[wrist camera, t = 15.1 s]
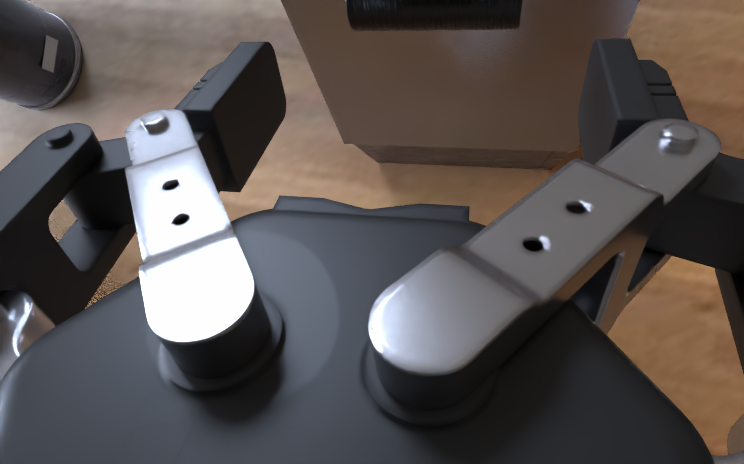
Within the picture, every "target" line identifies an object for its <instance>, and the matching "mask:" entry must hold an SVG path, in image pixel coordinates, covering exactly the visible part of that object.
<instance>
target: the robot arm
mask: <svg viewBox="0 0 744 464" xmlns="http://www.w3.org/2000/svg"><path fill="white" fill-rule="evenodd" d="M81 65H82V51H81V45H80V42H79V39H78V37H77V35H76V33H75V31H74V30H73V28H72V27H71V26H70V25H69V24H68V23H67V22H66V21H65V20H63V19H62V18H60V17H58V16H56V15H54V14H52V13H49V12H46V11H44V10H42V9H40V8H39V7H37V6H35V5H33V4H31V3H29V2H27V1H26V0H0V99H2V100H6V101H9V102H13V103H16V104H18V105H20V106H23V107H26V108H30V109H35V110H41V109H47V108H50V107H53V106H55V105H57V104H58V103H60V102H61V101H63V100H64V99H65V98H66V97H67V96H68V95H69V93H70V92H71V91H72V89H73V88H74V86H75V84H76V82H77V80H78V77H79V74H80V71H81ZM285 113H286V98H285V93H284V89H283V85H282V80H281V76H280V72H279V68H278V64H277V60H276V56H275V52H274V49H273V47H272V45H271V44H270V43H269V42H241V43H240V44H239V45H238V46H237V47H236V48H235V49H234V50H233V51H232V53H231V54H230V55H229V56H228V57H227V58H226V59H225V61H223V62H221V63H220V64H218V65H216V66H215V67H213V68H211V69H210V70H209V71H208V72H207V73H206V74H205V75H204V76H203V77H202V78H201V80H200V82H198V83H197V84H196V85H195V86H194V87H193V90H191V91H190V92H189V93H188V94H187V95H186V96H185V97H184V99H183V100H182V101H181V102H180V103H179V104H178V105H177V106H176V107H175V109H163V110H157V111H153V112H150V113H147V114H145V115H142V116H140V117H139V118H137V119H135V120H134V121H133V122H131V123H130V124H129V125H128V127H127V128H126V131H125V136H126V137H124V138H118V139H112V140H106V141H100V142H99V141H98V139H97V138H96V136H95V134H94V132H93V130H92V129H91V127H90V126H88V125H86V124H82V123H74V124H67V125H62V126H59V127H56V128H54V129H51V130H49V131H47V132H45V133H43V134H41V135H40V136H39V137H37V138H36V139H35V140H34V141H33V142H31V143H30V144H29V145H28V146H27V147H26V148H25V149H24V150H23V151H22V152H21V153H20V154H19V155H18V156H16V157H15V158H14V159H13V160H12V161H11V162H10V163H9V164H8V165H7V166H6V167H5V168H4V169H2V170H1V171H0V464H744V413H743V415H742V416H741V417H740V418H739V419H738V420H737V421H736V422H735V424H734V425H733V426H732V427H731V429H730V431H729V433H728V439H727V448H728V455H727V456H714V455H711V453H710V451H709V450H708V448H707V446H706V444H705V442H704V440H703V439H702V437H701V435H700V434H699V432H698V431H697V430H696V428H695V427H694V426H693V424H692V423H691V422H690V421H689V419H688V418H687V417H686V416H685V415H684V414H683V413H682V412H681V410H680V409H679V408H678V407H677V406H676V405H675V404H674V403H673V402H672V401H671V400H670V399H669V398H668V397H667V396H666V395H665V394H664V393H663V392H662V391H661V390H660V389H659V388H658V387H657V386H656V385H655V384H654V383H653V382H652V381H651V380H650V379H649V378H648V377H647V376H646V375H645V374H644V373H643V372H642V371H641V370H640V369H639V368H638V367H637V366H636V365H635V364H634V363H633V362H632V361H631V360H630V359H629V357H628V356H627V355H626V354H625V353H624V352H623V351H622V350H621V349H620V348H619V347H618V346H617V345H616V344H615V343H614V342H613V341H612V340H611V339H610V338H609V337H608V336H607V333H608V332H609V330H610V329H611V327H612V326H613V324H614V322H615V321H616V319H617V317H618V316H619V314H620V313H621V311H622V310H623V309H624V308H625V306H626V305H627V304H628V303H629V302H630V301H631V300H632V299H633V298H634V297H635V296H636V294H637V293H638V292H639V291H640V290H641V289H642V288H643V287H644V286H645V285H646V284H647V283H648V282H649V280H650V279H651V278H652V277H653V276H654V275H655V274H656V273H657V272H658V271H659V270H660V269H661V268H662V266H663V265H664V264H665V263H666V262H667V261H668V260H669V259H670V257H671V256H675V257H679V258H682V259H686V260H689V261H692V262H696V263H699V264H703V265H706V266H710V267H713V268H715V272H716V276H717V280H718V283H719V287H720V291H721V294H722V298H723V301H724V305H725V308H726V312H727V316H728V319H729V323H730V326H731V330H732V334H733V337H734V341H735V344H736V348H737V351H738V355H739V359H740V362H741V366H742V369H743V373H744V159H740V158H735V157H731V156H728V155H725V154H722V153H720V149H721V142H720V139H719V138H718V136H717V135H716V134H715V133H713V132H712V131H711V130H709V129H708V128H706V127H704V126H702V125H699V124H696V123H693V122H690V121H688V118H687V116H686V114H685V111H684V109H683V107H682V105H681V102H680V100H679V98H678V96H676V91H675V89H674V87H673V86H672V82H671V80H670V78H669V75H668V73H667V71H666V70H665V69H663V68H662V67H661V66H659V65H658V64H656V63H655V62H654V61H652V60H638V58H637V56H636V53H635V50H634V47H633V45H632V42H631V40H630V39H629V38H615V39H595V40H594V41H593V44H592V47H591V51H590V56H589V60H588V65H587V70H586V75H585V79H584V84H583V89H582V94H581V98H580V104H579V112H578V128H579V134H580V140H581V147H582V153H583V159H584V160H583V159H581V158H575V159H573V160H572V161H570V162H569V163H567V164H566V165H565V166H564V167H562V168H561V169H560V170H558V171H557V172H556V173H555V174H553V175H552V176H551V177H549V178H548V179H547V180H546V181H544V182H543V183H542V184H540V185H539V186H538V187H537V188H535V189H534V190H533V191H531V192H530V193H529V194H528V195H526V196H525V197H524V198H522V199H521V200H520V201H519V202H517V203H516V204H515V205H513V206H512V207H511V208H510V209H508V210H507V211H506V212H504V213H503V214H502V215H501V216H499V217H498V218H497V219H496V220H494V221H493V222H492V223H490V224H489V225H488V226H484V225H481V224H479V223H476V222H472V221H469V206H452V205H435V204H413V205H404V206H395V207H387V208H378V209H364V208H360V207H356V206H352V205H348V204H344V203H340V202H336V201H333V200H329V199H325V198H312V197H294V196H279V198H278V200H277V202H276V204H275V206H274V208H273V209H268V210H263V211H259V212H255V213H252V214H248V215H246V216H243V217H240V218H238V219H236V220H234V221H232V222H230V221H229V219H228V216H227V214H226V211H225V209H224V207H223V204H222V202H221V199H220V197H219V195H218V194H219V192H220V191H228V192H241V190H242V188H243V187H244V185H245V183H246V182H247V180H248V178H249V176H250V175H251V173H252V171H253V170H254V168H255V166H256V165H257V163H258V161H259V160H260V158H261V156H262V155H263V153H264V151H265V149H266V148H267V146H268V144H269V143H270V141H271V139H272V138H273V136H274V134H275V133H276V131H277V129H278V128H279V126H280V124H281V122H282V121H283V119H284V117H285ZM62 199H63V200H64V201H65V202H66V204H67V205H68V207H69V208H70V210H71V211H72V213H73V214H74V215H75V217H76V218H77V220H76V221H75V222H74V223H73V225H72V226H71V227H70V228H69V229H68V231H67V232H66V233H65V234H64V236H63V237H62V238H61V239H60V241H59V242H57V241H56V240H55V239H54V237H53V236H52V234H51V233H50V231H49V227H48V220H49V216H50V214H51V212H52V211H53V210H54V208H55V207H56V206H57V205H58V204H59V203H60V202H61V200H62ZM136 231H137V235H138V240H139V245H140V250H141V255H142V264H140V265H139V277H137V278H136V279H134V280H132V281H131V282H129V283H127V284H126V285H124V286H122V287H121V288H119V289H117V290H116V291H114V292H112V293H111V294H109V295H107V296H106V297H104V298H102V299H101V300H99V301H97V302H96V303H94V304H92V305H91V306H89V307H87V308H86V309H84V308H85V307H86V305H87V304H88V302H89V301H90V299H91V298H92V296H93V295H94V294H95V292H96V291H97V289H98V288H99V286H100V285H101V283H102V282H103V280H104V279H105V277H106V276H107V274H108V273H109V271H110V270H111V268H112V267H113V265H114V264H115V262H116V261H117V259H118V258H119V256H120V255H121V253H122V252H123V250H124V249H125V247H126V246H127V244H128V243H129V241H130V240H131V238H132V237H133V235H134V234H135V232H136Z"/></svg>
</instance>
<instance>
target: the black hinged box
mask: <svg viewBox="0 0 744 464" xmlns="http://www.w3.org/2000/svg"><path fill="white" fill-rule="evenodd" d="M354 145H355V146H357V147H358V148H359V149H361V150H362V151H363V152H365V153H366V154H367V155H369V156H370V157H371V158H373V159H374V160H375V161H377V162H382V163H405V164H429V165H452V166H475V167H498V168H521V169H544V170H551V169H552V168H553V167H554V166H556V165H557V164H558V163H559V162H560V161H561V160H562V159H563V158H564V157H565V156H566V155H567V154H568V153H569V152H563V151H535V150H507V149H479V148H451V147H424V146H396V145H368V144H354Z"/></svg>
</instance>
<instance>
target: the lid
mask: <svg viewBox="0 0 744 464" xmlns="http://www.w3.org/2000/svg"><path fill="white" fill-rule="evenodd" d="M281 2H282V4H283V6H284V9H285V11H286V13H287V15H288V18H289V20H290V22H291V25H292V27H293V29H294V31H295V34H296V36H297V38H298V40H299V43H300V45H301V47H302V49H303V52H304V54H305V56H306V58H307V61H308V63H309V65H310V68H311V70H312V72H313V74H314V77H315V79H316V81H317V83H318V86H319V88H320V90H321V92H322V95H323V97H324V99H325V101H326V104H327V106H328V108H329V111H330V113H331V115H332V117H333V120H334V122H335V124H336V126H337V129H338V131H339V133H340V135H341V138H342V140H343V142H344V143H345V144H368V145H396V146H424V147H451V148H479V149H507V150H535V151H563V152H577V151H578V148H579V146H580V143H581V140H580V134H579V128H578V112H579V104H580V98H581V94H582V89H583V84H584V79H585V75H586V70H587V65H588V60H589V56H590V51H591V47H592V44H593V41H594V40H595V39H615V38H625V36H626V34H627V31H628V29H629V27H630V24H631V22H632V19H633V17H634V15H635V12H636V10H637V8H638V5H639V3H640V0H281Z"/></svg>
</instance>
